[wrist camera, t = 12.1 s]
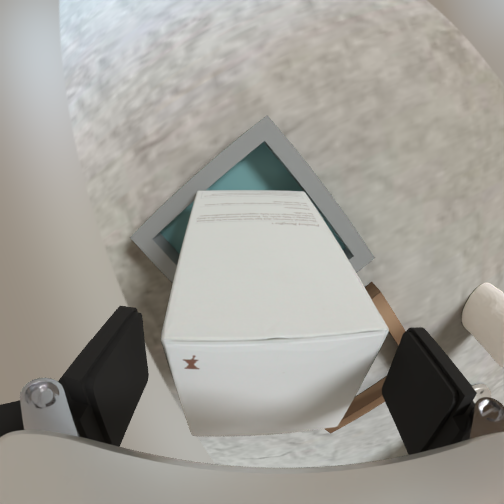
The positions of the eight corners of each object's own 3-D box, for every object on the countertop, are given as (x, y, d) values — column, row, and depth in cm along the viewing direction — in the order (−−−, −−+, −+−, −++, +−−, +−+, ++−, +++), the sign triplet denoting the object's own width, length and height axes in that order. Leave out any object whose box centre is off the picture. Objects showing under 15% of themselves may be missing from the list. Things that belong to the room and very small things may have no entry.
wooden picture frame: (420, 359, 27) (428, 370, 25) (327, 420, 29) (330, 433, 27) (372, 281, 24) (380, 291, 22) (258, 362, 26) (258, 376, 24)
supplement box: (200, 281, 23) (185, 438, 12) (196, 187, 19) (153, 338, 8) (296, 280, 23) (338, 430, 12) (309, 189, 19) (396, 329, 9)
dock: (363, 247, 23) (375, 257, 21) (244, 335, 25) (244, 353, 23) (265, 119, 20) (267, 115, 17) (141, 228, 22) (130, 237, 20)
